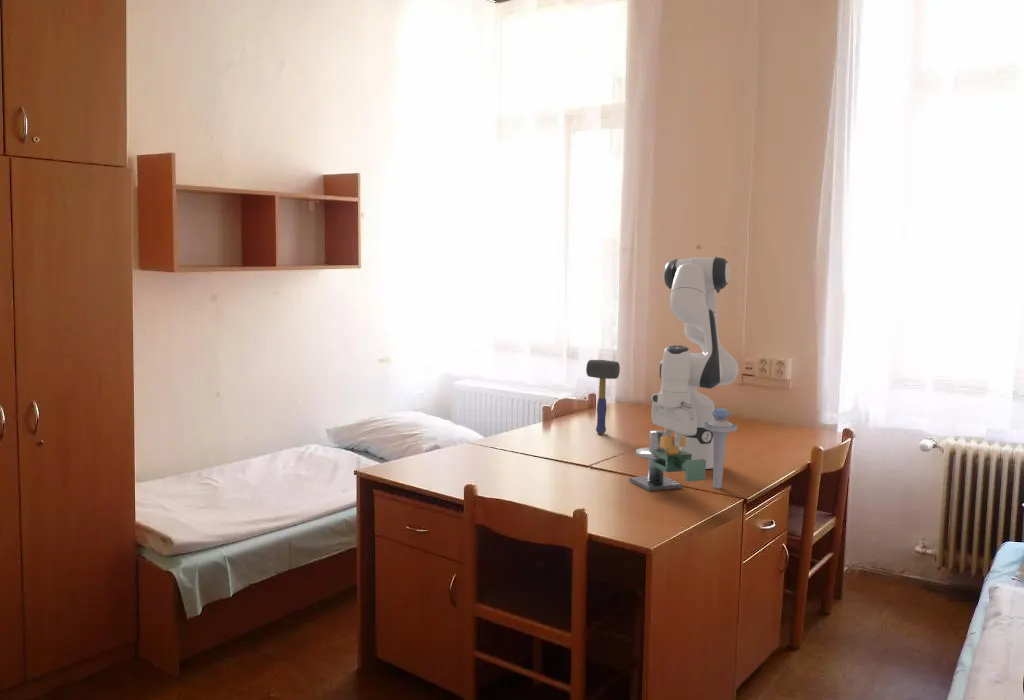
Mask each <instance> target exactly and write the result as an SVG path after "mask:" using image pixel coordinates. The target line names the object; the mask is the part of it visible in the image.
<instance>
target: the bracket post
mask: <svg viewBox="0 0 1024 700" xmlns="http://www.w3.org/2000/svg"><path fill="white" fill-rule="evenodd" d="M663 436H665V433H664V430H659V429H653V430H650V431H649V442H648V445H649V446H648V447H640V448H637V449H636V450H635V455H636V456H637V457H638V458H642V459H646V460H648V465H647V466H648V467H647V468H648V471H647V474H648V475H644V476H643V475H642V476H631V477H629V480H628V481H629V482H630V481H631V482H630V483H632V484H634V485H636V486H637V487H640V488H642V489H644V490H646V491H647V490H648V492H653V491H652V490H656V491H662V490H661V489H666V490H673V489H674V488H676V489H682V488H683V484H682V483H681V482H678V481H676V480H675V479H672V478H670V477H668V476H665V475H664V472H665V473H676V472H677V473H678V472H685V476H684V477H685V481H686V482H699V481H705V480H706V470H707V469H706V460H705V459H698V460H691V458H692V454H690V453H687V452H685V451H682V450H680V449H679V453H675V454H667V453H666V448H663V447H660V437H663ZM665 460H666V464H665Z"/></svg>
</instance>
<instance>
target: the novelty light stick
mask: <svg viewBox="0 0 1024 700" xmlns="http://www.w3.org/2000/svg"><path fill="white" fill-rule="evenodd" d="M712 415H713V416H714V420H713V421H709V422H705V423H704V428H705V429H707V430H710V431H711V432H713V468H712V475H713V476H712V477H713V479H712V487H713V488H714V489H722V487H723V485H722V484H723V476H724V466H725V465H724V464H725V459H726V458H725V457H726V447H727V446H726V445H727V439H728V438H727V437H728V435H729V433H731V432H736V431H737V430H738V424H736V423H733V422H729V421H728V418H729V417H730V416H731V413H730V411H728V409H726V408H724V407H723V408H722V407H717V408H715V409H714V411H713V412H712Z"/></svg>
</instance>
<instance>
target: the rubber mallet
mask: <svg viewBox="0 0 1024 700" xmlns="http://www.w3.org/2000/svg"><path fill="white" fill-rule="evenodd" d="M586 363H587V364H586V369H585V370H586V371H585V372H586V375H587V377H589V378H596V379H599V385H598V386H599V388H598V398H597V403H596V415H597V416H596V417H597V418H596V427H595V428H596V429H595V431H596V432H597V434H598V435H605V433H606V432H607V427H606V416H607V399H606V390H607V389H606V388H607V387H606V385H607V381H606V380H615V379H618V378H619V375H620V371H621V370H620V369H621V367H620V363H619V362H618V361H613V360H607V359H606V360H605V359H589V360H588V361H587V362H586Z"/></svg>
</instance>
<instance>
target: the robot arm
mask: <svg viewBox="0 0 1024 700" xmlns="http://www.w3.org/2000/svg"><path fill="white" fill-rule="evenodd" d="M730 277H731V268H730V265H729V262H728V261H727V260H726V258H722V257H718V256H715V257H707V256H706V257H705V256H704V257H702V256H700V257H699V256H697V257H690V258H682V259H679V258H676V259H672V260H669V261H668V262H667V263H666V264H665V266H664V269H663V281H664V284H665V286H666V287H667V288H668V289H669V290H670V298H669V299H670V300H669V307H670V311H671V313H672V315H673V316H674V317H675V318H676V319H678V320H679V321H680V322H682V323H683V324H684V330H683V333H684V335H685V337H686V338H687V339H688V340H689V341H691V342H693V343H694V344H696V345H698V346H699V347H700V348H701V352H695V353H694V352H691V351H690V348H688V347H687V346H684V345H679V344H678V345H677V344H676V345H668V346H666V347H665V348H664V349H663V355H662V360H661V361H660V362H659V378H660V379H661V386H660V391H659V392H657V393H654V394H652V395H651V399H650V400H651V401H652V405H651V422H652V424H653V425H655V426H659V427H661V428H663V431H664V433H665V436H673V433H672V432H674V436H675V439H674V440H673V445H674V446H680V440H681V439H682V437H683V436H685V437H686V446H685V447H679V449H680V450H682V451H685V452H687V453H690V454H692V458H691V460H698V459H705V460H706V470H708V469H709V470H710V469H713V432H711V431H710V430H707V429H705V428H704V423H705V422H709V421H713V420H715V418H714V416H713V415H712V412H713V411H714V410H715V409H716V408H715V403H714V401H713V400H712V399H710V397H708V396H707V395H705V394H702V393H701V392H699V391H698V387H699V388H703V389H713V388H715V387H717V386H718V387H719V386H725V385H730V384H733V383H734V382H735V381H736V379H738V378H737V377H738V375H739V365H738V362H737V360H736V359H735V358H734V356H732V355H731V354H730V353H729V352H728V351H727V350H726V349H725V348H724V347H723V346H724V345H722V342H721V340H720V337H719V329H718V327H719V326H718V298H717V294H720V292H721V290H723V289H725V287H726V286H727V285H728V284H729V281H730Z"/></svg>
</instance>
